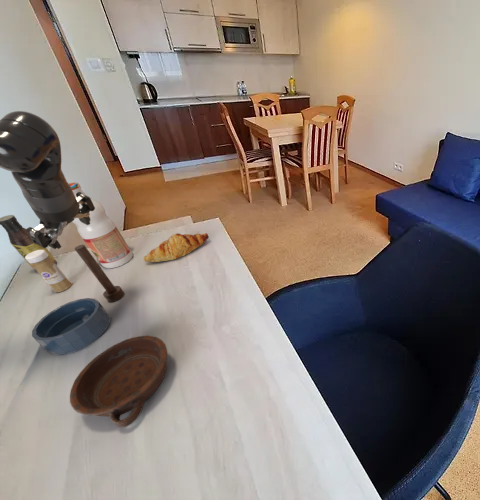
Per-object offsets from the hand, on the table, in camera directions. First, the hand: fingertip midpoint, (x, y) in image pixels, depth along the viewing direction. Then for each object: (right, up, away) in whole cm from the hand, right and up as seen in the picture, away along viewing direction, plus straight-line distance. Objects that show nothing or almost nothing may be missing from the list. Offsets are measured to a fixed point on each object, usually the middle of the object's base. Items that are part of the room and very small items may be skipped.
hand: (71, 234), depth 77 cm
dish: (+25, -33, -12) cm, 43 cm away
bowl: (+2, -26, +1) cm, 26 cm away
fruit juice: (-9, -8, +28) cm, 31 cm away
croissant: (+11, -5, +29) cm, 32 cm away
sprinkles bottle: (-19, -16, +18) cm, 31 cm away
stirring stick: (+2, -18, +12) cm, 22 cm away
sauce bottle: (-35, -10, +29) cm, 47 cm away
